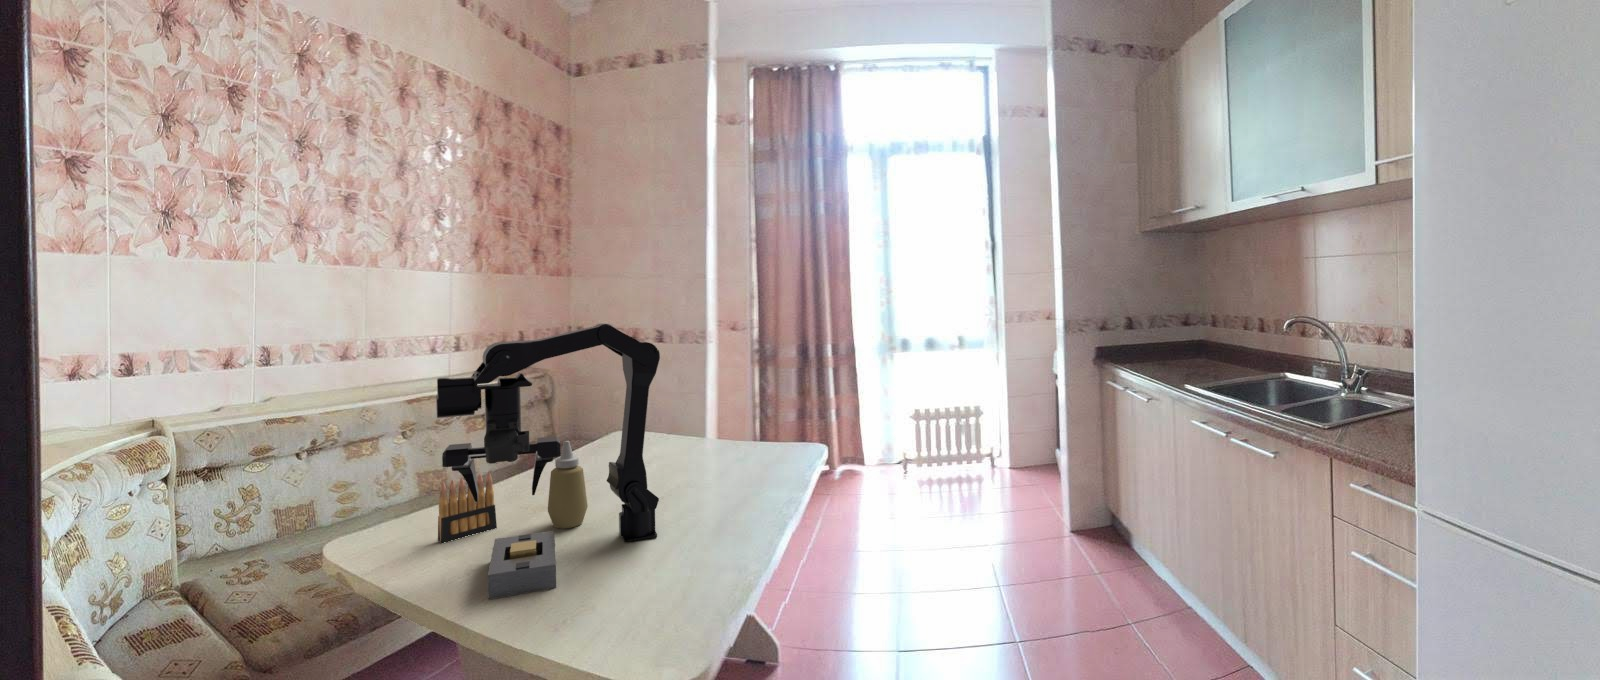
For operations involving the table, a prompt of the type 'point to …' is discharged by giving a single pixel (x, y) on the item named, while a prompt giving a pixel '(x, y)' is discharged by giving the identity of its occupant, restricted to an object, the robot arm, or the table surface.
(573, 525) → the squeeze bottle
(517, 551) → the tan wooden block
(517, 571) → the grey socket block
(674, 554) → the table surface
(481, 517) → the ammunition clip
